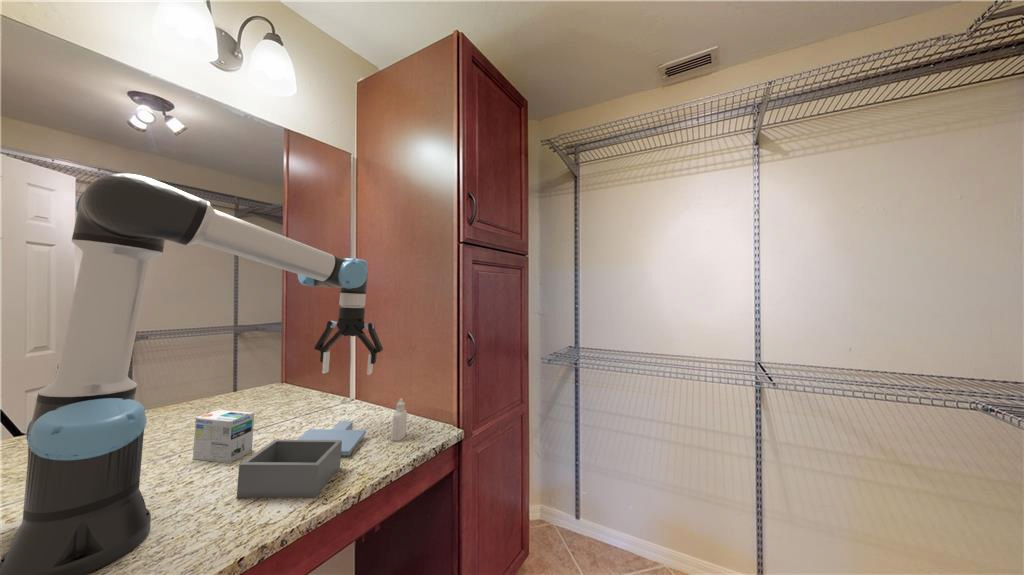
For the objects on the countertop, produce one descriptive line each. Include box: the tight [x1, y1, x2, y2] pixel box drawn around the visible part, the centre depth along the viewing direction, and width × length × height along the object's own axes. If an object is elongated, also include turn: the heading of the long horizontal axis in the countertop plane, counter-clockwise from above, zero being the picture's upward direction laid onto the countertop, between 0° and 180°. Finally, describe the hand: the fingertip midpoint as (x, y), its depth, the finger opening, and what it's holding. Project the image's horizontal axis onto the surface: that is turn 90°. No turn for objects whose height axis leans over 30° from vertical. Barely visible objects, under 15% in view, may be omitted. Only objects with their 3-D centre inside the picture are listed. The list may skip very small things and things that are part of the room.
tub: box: [236, 438, 342, 499], centre depth 75 cm, size 16×12×7 cm
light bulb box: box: [192, 409, 255, 464], centre depth 85 cm, size 11×7×11 cm, turn 84°
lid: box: [296, 420, 367, 456], centre depth 95 cm, size 17×19×2 cm
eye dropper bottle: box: [391, 398, 408, 442], centre depth 101 cm, size 4×6×12 cm
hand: (347, 373), depth 104 cm, fingers open, 13 cm apart
